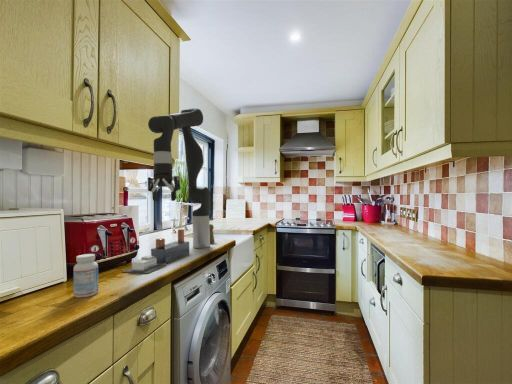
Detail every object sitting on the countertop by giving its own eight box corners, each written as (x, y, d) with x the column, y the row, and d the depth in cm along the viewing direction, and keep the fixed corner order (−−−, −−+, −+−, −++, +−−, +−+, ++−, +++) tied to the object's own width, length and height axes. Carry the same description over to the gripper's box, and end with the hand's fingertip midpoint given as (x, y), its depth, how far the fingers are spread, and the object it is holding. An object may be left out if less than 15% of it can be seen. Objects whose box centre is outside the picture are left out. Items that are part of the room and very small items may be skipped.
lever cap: (145, 265, 109) (145, 255, 109) (156, 265, 108) (156, 255, 108) (132, 270, 101) (131, 260, 101) (143, 271, 100) (143, 260, 100)
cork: (212, 243, 161) (212, 224, 161) (202, 243, 162) (202, 224, 162) (216, 241, 167) (215, 223, 167) (206, 241, 168) (206, 223, 168)
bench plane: (176, 253, 134) (176, 229, 134) (189, 253, 132) (188, 229, 132) (150, 263, 114) (150, 234, 114) (165, 264, 112) (165, 235, 112)
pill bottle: (84, 290, 81) (83, 253, 82) (103, 291, 81) (102, 253, 81) (68, 298, 75) (67, 257, 75) (88, 298, 75) (88, 257, 75)
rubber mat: (141, 265, 111) (141, 264, 111) (165, 266, 109) (165, 265, 109) (122, 272, 101) (122, 271, 101) (147, 273, 98) (147, 272, 98)
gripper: (182, 162, 117) (183, 200, 117) (153, 164, 121) (155, 200, 121) (173, 161, 110) (174, 201, 110) (142, 163, 114) (144, 201, 114)
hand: (164, 200), depth 116 cm, fingers open, 8 cm apart
